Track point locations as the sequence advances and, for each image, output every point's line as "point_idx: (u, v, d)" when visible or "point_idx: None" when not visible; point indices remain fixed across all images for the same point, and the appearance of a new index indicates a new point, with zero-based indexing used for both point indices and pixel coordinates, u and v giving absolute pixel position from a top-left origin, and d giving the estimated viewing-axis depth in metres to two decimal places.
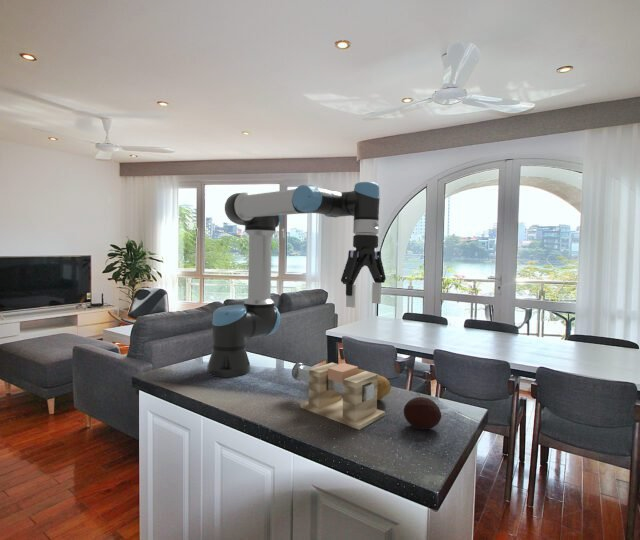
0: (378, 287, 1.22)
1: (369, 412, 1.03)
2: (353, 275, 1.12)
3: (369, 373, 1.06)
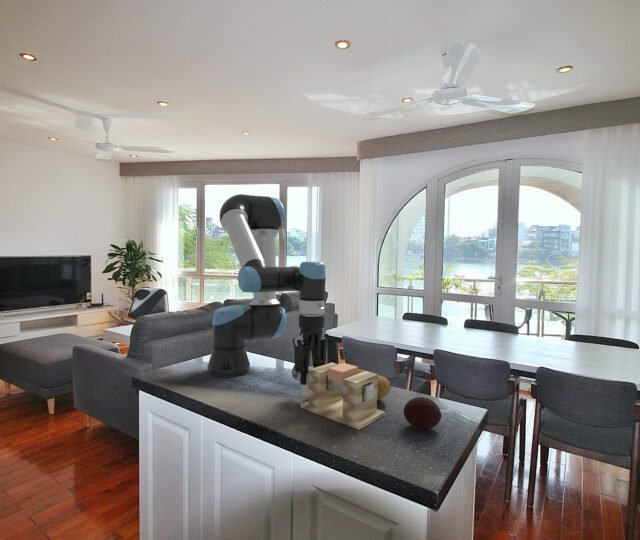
0: None
1: (369, 412, 1.03)
2: (305, 364, 1.12)
3: (369, 373, 1.06)
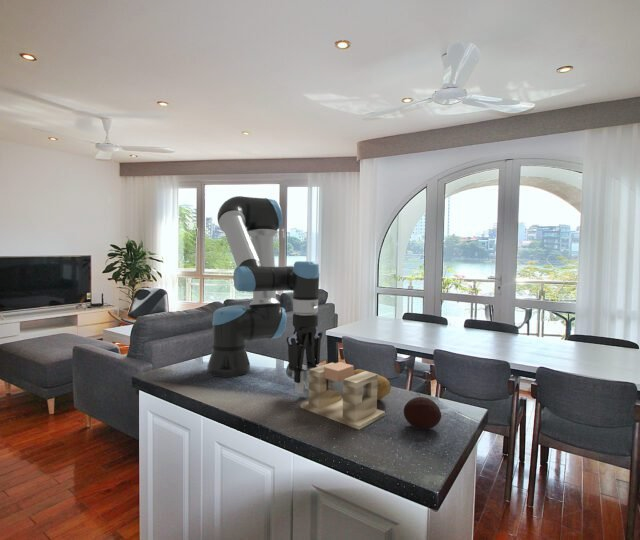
0: None
1: (369, 412, 1.03)
2: (298, 362, 1.13)
3: (369, 373, 1.06)
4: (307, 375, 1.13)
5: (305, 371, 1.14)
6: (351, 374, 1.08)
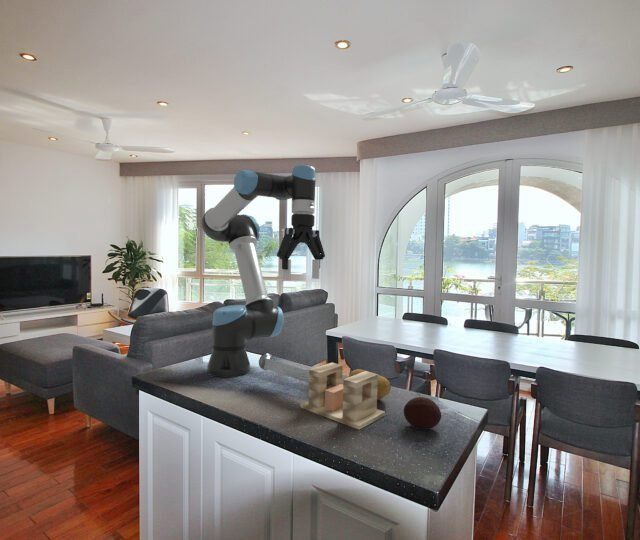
0: (317, 263, 1.32)
1: (369, 412, 1.03)
2: (289, 250, 1.22)
3: (369, 373, 1.06)
4: (277, 366, 1.22)
5: (275, 362, 1.22)
6: None
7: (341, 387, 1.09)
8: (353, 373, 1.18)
